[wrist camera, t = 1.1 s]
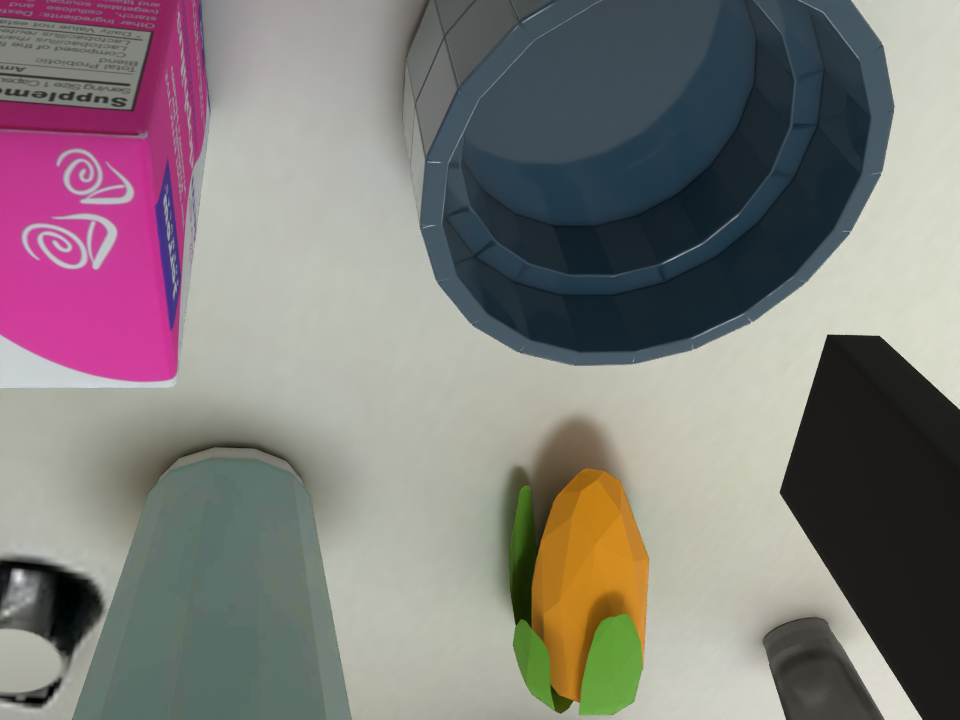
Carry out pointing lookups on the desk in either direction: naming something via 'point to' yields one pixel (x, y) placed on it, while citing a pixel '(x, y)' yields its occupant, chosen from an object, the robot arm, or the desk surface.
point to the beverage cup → (816, 674)
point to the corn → (580, 597)
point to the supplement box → (98, 188)
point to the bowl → (638, 163)
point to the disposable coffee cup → (220, 602)
